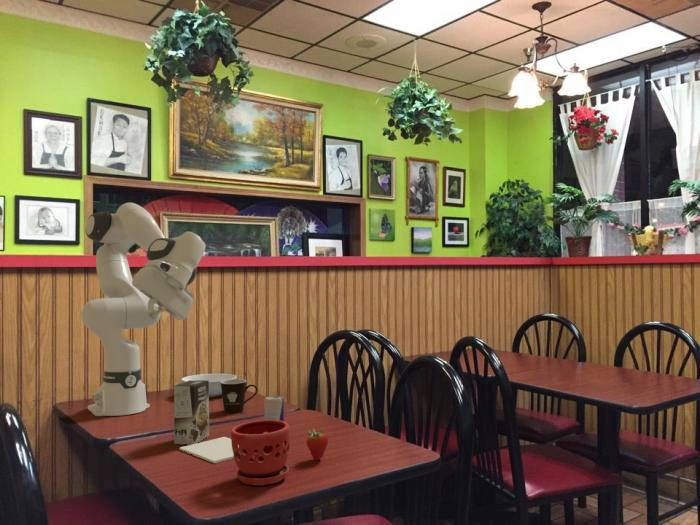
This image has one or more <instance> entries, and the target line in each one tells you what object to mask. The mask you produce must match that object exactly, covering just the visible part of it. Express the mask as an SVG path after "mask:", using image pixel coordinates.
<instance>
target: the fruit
mask: <svg viewBox="0 0 700 525" xmlns="http://www.w3.org/2000/svg"><path fill="white" fill-rule="evenodd" d="M323 432H324V430H323V429H322V428H319V431H316V429H315V428H314V427H312V431H311V430H310V429H308V432H307V435H309V436H308V437H307V439H306V441H305V443H306V445H307V448H308V449H309V451H310V454H311V457H312V458H313V460H314V461H320V460H321V459H322V458H323V456H324V454H325V452H326V449H327V446H328V443H329V438H328V436H327V435H326V434H324V433H323Z"/></svg>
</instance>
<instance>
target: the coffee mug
mask: <svg viewBox="0 0 700 525" xmlns="http://www.w3.org/2000/svg"><path fill="white" fill-rule="evenodd" d="M250 387H253V388H254V389H255V393H254V394H252V396H250V397H248V399H246V392H247V390H248V389H249V388H250ZM221 390H222V394H221V396H222V404H223V412H224V413H225V414H239V412H240V413H243V412H244V408H245V404H246V403H247V402H249V401H250V400H252V399H253V398H254V397H255V396H256V395H257V393H258V387H257V385H255V384H249V385H247V380H246V379H237V378H236V379H232V380H224V381H221ZM245 399H246V400H245ZM242 411H243V412H242Z"/></svg>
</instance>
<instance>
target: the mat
mask: <svg viewBox="0 0 700 525" xmlns="http://www.w3.org/2000/svg"><path fill="white" fill-rule="evenodd" d="M238 447H239V445H238ZM178 449H180V450H179V451H181V450H182V452H184V451H185V452H184V453H186V452H187V453H186V454H189V455H191V454H192V456H195V457H197V458H200V459H202V460H205V461H207V462H210V463H213V464H218V463H221V462H226V461H229V460H233V459H234V455H233V449H232V443H231V437H230V438H229V437H228V436H227V437H226V436H222V437H218V438H213V439H209V440H206V441H200V442H199V443H196V444H192V445H186V446H185V445H184V446H181V447H179V448H178Z"/></svg>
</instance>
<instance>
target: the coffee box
mask: <svg viewBox="0 0 700 525" xmlns="http://www.w3.org/2000/svg"><path fill="white" fill-rule="evenodd" d="M173 397H174V398H173V421H174V424H173V429H174V430H173V432H174V433H173V436H174V438H173V440H174V441H173V442H174V445H185V444H187V445H186V446H188V445H192V444H196V443H198V442H199V443H201V442H202V441H204V440H206V439H207V438H209V437H210V397H209V381H205V380H196V381H187V382H184V383H182V382H181V383H178V384H175V385H173ZM208 436H209V437H208ZM206 437H207V438H206ZM205 438H206V439H205ZM203 439H204V440H203ZM201 440H202V441H201Z"/></svg>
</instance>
